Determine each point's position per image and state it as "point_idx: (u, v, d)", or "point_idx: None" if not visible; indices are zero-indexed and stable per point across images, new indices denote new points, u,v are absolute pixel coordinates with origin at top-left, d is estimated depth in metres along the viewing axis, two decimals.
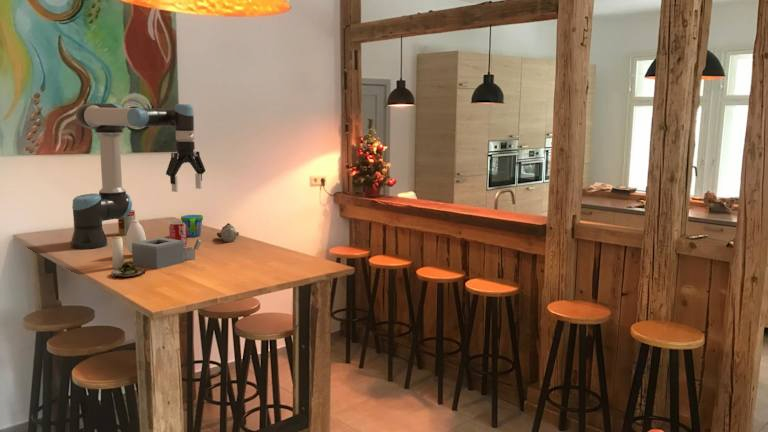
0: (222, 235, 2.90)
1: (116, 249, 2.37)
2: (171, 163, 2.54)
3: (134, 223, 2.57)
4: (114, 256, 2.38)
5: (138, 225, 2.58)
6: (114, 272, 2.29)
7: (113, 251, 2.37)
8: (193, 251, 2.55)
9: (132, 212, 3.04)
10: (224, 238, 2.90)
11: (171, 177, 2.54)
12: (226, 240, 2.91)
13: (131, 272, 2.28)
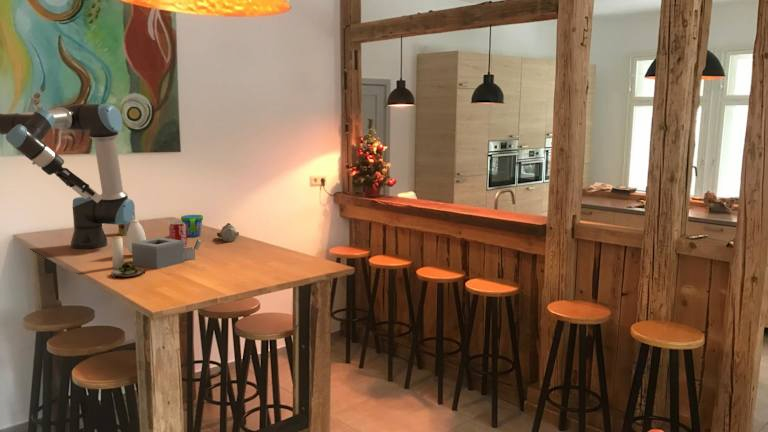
0: (222, 235, 2.91)
1: (116, 249, 2.37)
2: None
3: (134, 223, 2.57)
4: (114, 256, 2.38)
5: (138, 225, 2.58)
6: (114, 272, 2.29)
7: (113, 251, 2.37)
8: (193, 251, 2.55)
9: None
10: (224, 238, 2.91)
11: None
12: (226, 240, 2.91)
13: (131, 272, 2.28)
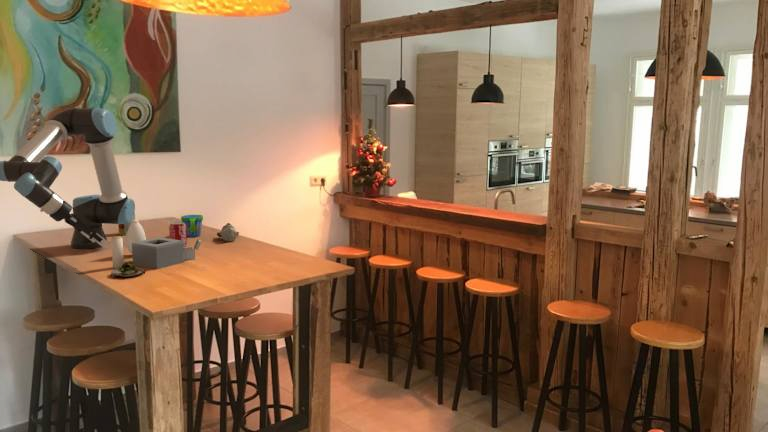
0: (222, 235, 2.91)
1: (116, 249, 2.37)
2: None
3: (134, 223, 2.57)
4: (114, 256, 2.38)
5: (138, 225, 2.58)
6: (114, 272, 2.29)
7: (113, 251, 2.37)
8: (193, 251, 2.55)
9: None
10: (224, 238, 2.91)
11: None
12: (226, 240, 2.91)
13: (131, 272, 2.28)
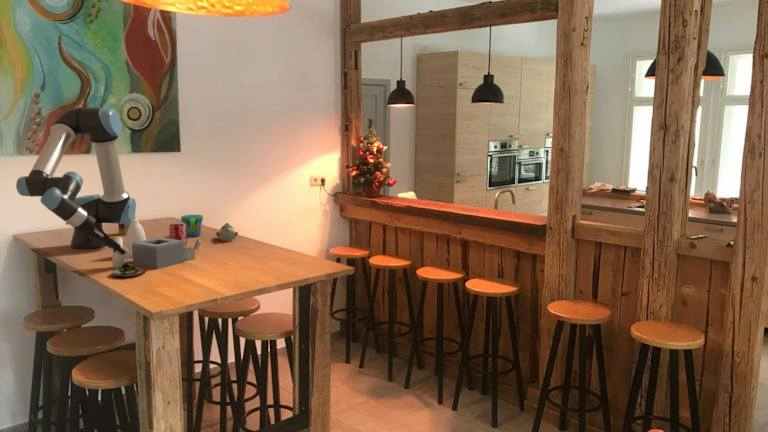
0: (220, 235, 2.91)
1: None
2: None
3: (134, 223, 2.57)
4: (114, 256, 2.38)
5: (138, 225, 2.58)
6: (114, 272, 2.29)
7: None
8: (193, 251, 2.55)
9: None
10: (222, 238, 2.91)
11: None
12: (224, 240, 2.92)
13: (131, 272, 2.28)
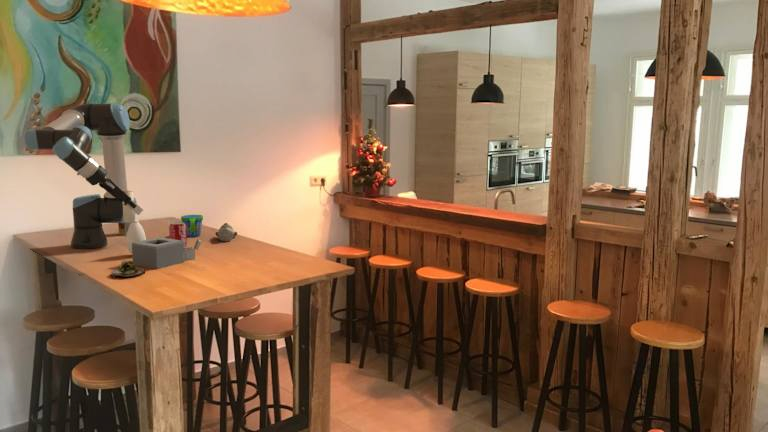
0: (218, 234, 2.91)
1: None
2: None
3: (134, 223, 2.57)
4: (125, 210, 2.36)
5: (138, 225, 2.58)
6: (114, 272, 2.29)
7: (124, 205, 2.36)
8: (193, 251, 2.55)
9: None
10: (220, 238, 2.91)
11: None
12: (222, 240, 2.92)
13: (131, 272, 2.28)
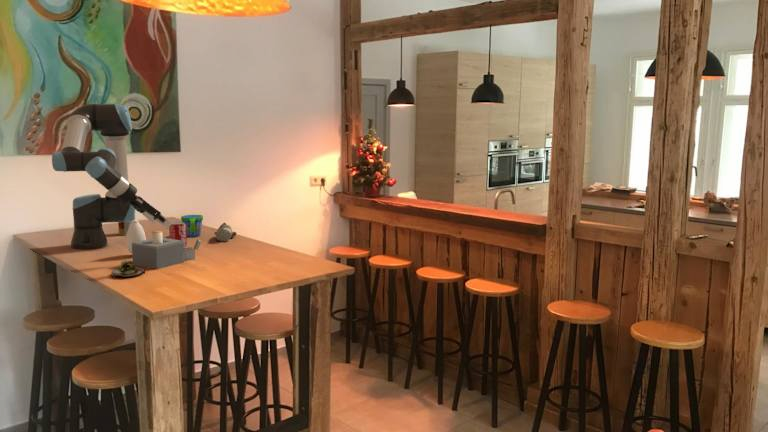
0: (216, 234, 2.92)
1: (157, 243, 2.44)
2: None
3: (134, 223, 2.57)
4: None
5: (138, 225, 2.58)
6: (114, 272, 2.29)
7: None
8: (193, 251, 2.55)
9: None
10: (218, 237, 2.92)
11: None
12: (220, 239, 2.92)
13: (131, 272, 2.28)
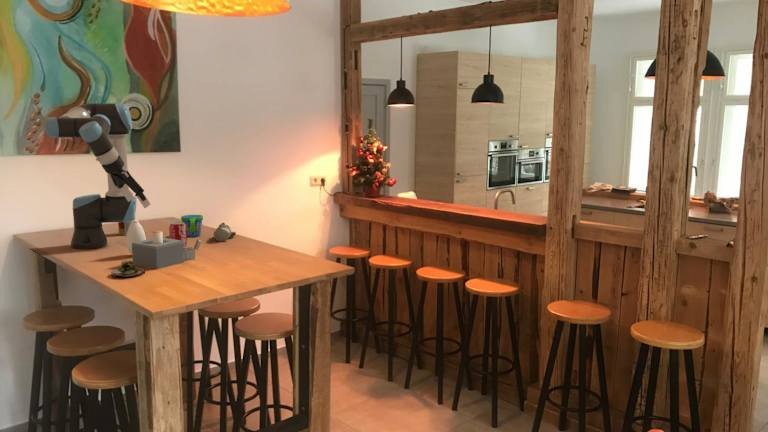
0: (214, 234, 2.92)
1: (157, 243, 2.44)
2: None
3: (134, 223, 2.57)
4: None
5: (138, 225, 2.58)
6: (114, 272, 2.29)
7: None
8: (193, 251, 2.55)
9: None
10: (216, 237, 2.92)
11: None
12: (218, 239, 2.92)
13: (131, 272, 2.28)
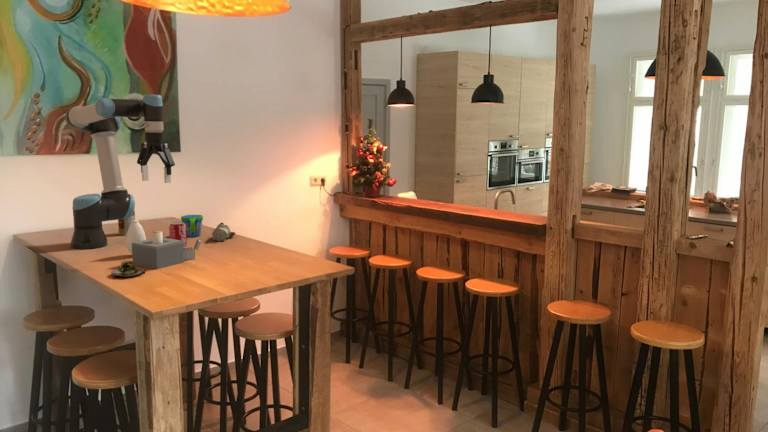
0: (213, 234, 2.93)
1: (157, 243, 2.44)
2: None
3: (134, 223, 2.57)
4: None
5: (138, 225, 2.58)
6: (114, 272, 2.29)
7: None
8: (193, 251, 2.55)
9: None
10: (214, 237, 2.92)
11: None
12: (216, 239, 2.93)
13: (131, 272, 2.28)
